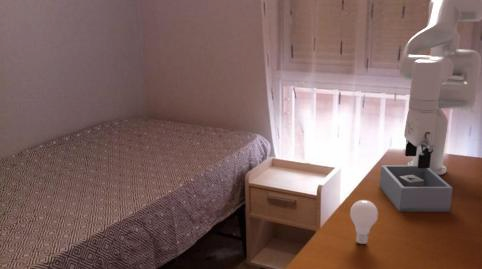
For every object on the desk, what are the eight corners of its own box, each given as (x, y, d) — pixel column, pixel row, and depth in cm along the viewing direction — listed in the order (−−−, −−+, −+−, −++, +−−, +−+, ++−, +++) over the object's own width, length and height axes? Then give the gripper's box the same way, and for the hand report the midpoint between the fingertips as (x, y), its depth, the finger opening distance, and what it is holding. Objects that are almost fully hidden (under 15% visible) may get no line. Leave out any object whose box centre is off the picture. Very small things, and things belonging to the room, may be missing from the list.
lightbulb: (375, 239, 111) (379, 197, 108) (374, 252, 105) (378, 208, 102) (349, 234, 113) (352, 194, 110) (346, 247, 107) (349, 204, 104)
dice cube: (397, 192, 136) (398, 176, 135) (411, 190, 138) (412, 174, 136) (408, 198, 132) (410, 182, 130) (422, 196, 133) (424, 180, 132)
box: (379, 186, 143) (381, 165, 141) (423, 186, 143) (426, 165, 141) (399, 211, 126) (401, 188, 124) (449, 211, 126) (452, 188, 124)
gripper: (399, 97, 135) (393, 151, 140) (422, 112, 118) (415, 173, 123) (424, 97, 135) (418, 151, 140) (450, 111, 118) (442, 173, 124)
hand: (416, 161), depth 132 cm, fingers open, 9 cm apart
